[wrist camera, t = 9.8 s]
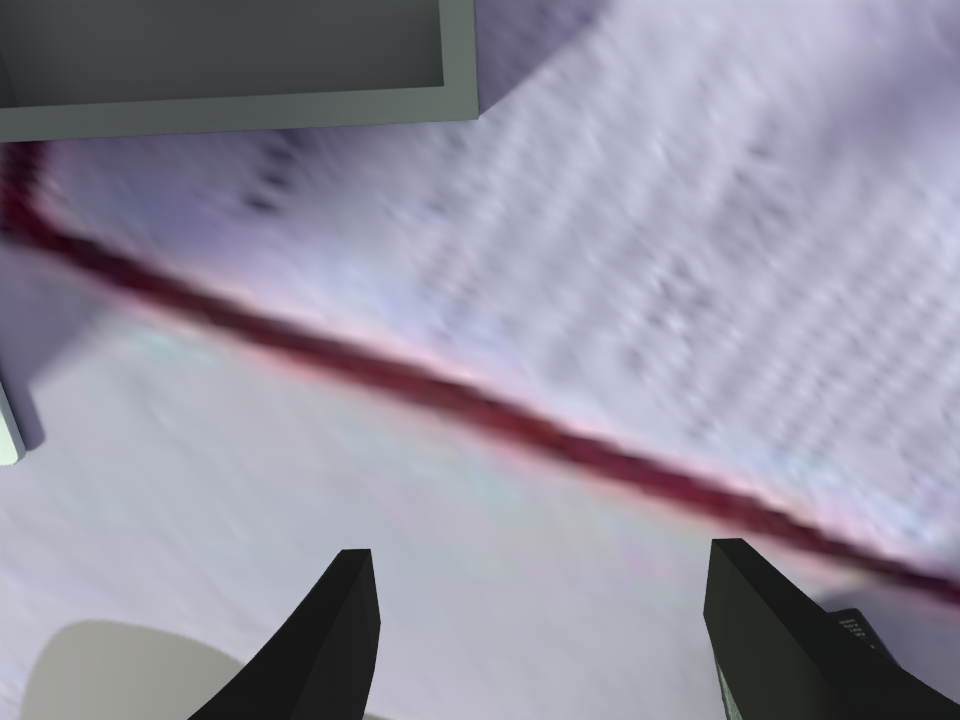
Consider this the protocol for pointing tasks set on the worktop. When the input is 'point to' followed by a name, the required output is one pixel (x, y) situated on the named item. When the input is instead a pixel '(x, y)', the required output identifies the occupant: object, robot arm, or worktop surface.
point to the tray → (231, 65)
